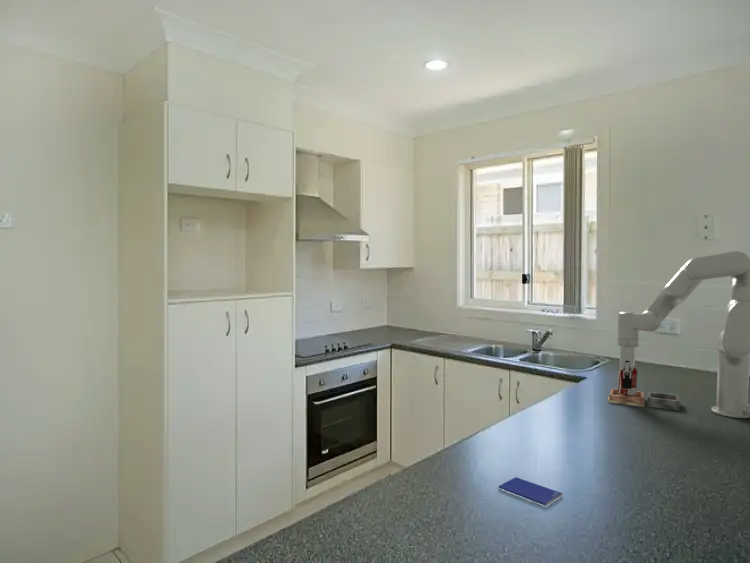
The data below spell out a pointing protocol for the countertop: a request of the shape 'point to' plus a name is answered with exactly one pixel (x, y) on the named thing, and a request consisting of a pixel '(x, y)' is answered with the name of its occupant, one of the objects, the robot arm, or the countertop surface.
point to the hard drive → (531, 491)
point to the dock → (653, 400)
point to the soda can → (632, 391)
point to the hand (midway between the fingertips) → (627, 386)
